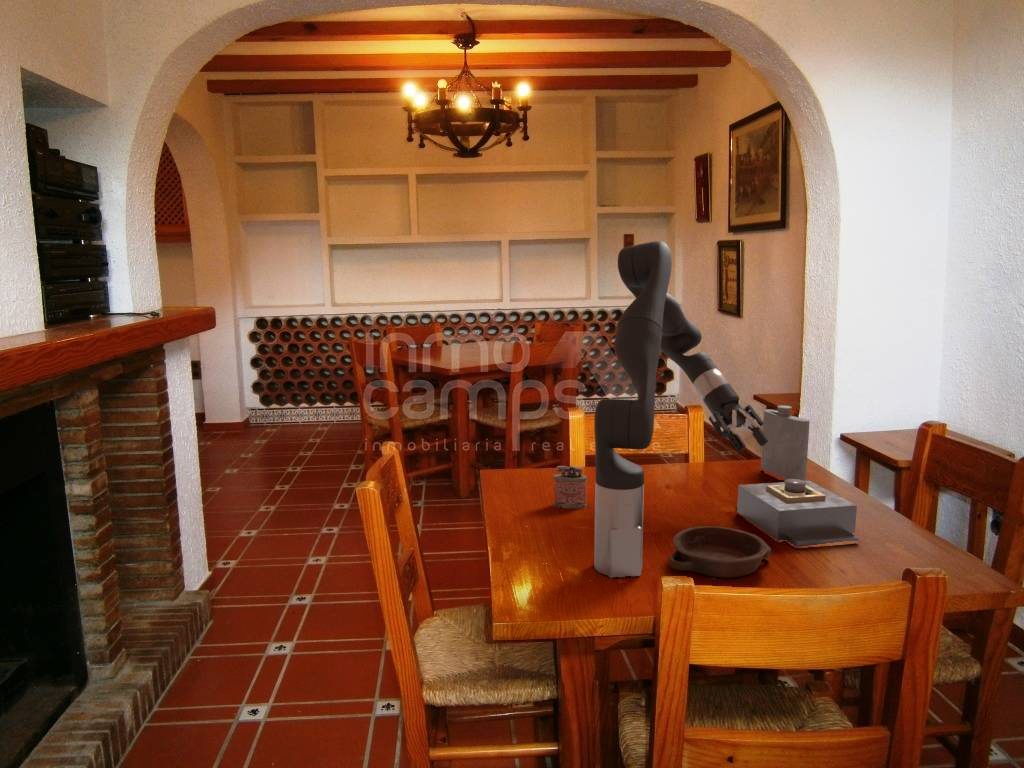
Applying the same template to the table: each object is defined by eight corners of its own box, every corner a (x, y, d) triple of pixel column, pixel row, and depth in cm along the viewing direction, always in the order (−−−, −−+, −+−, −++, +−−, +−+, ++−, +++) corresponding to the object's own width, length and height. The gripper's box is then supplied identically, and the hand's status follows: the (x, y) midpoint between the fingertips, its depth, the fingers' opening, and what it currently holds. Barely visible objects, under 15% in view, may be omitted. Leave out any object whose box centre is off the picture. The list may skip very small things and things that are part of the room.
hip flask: (808, 485, 194) (813, 411, 190) (795, 487, 192) (800, 412, 189) (767, 469, 208) (771, 400, 205) (755, 471, 207) (759, 401, 204)
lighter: (586, 503, 180) (587, 464, 179) (586, 508, 177) (587, 468, 175) (553, 503, 181) (554, 463, 179) (553, 507, 178) (553, 467, 176)
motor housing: (866, 543, 154) (869, 507, 153) (787, 549, 151) (789, 512, 150) (798, 503, 180) (800, 471, 178) (729, 508, 177) (730, 475, 175)
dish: (646, 556, 149) (647, 533, 148) (738, 542, 156) (739, 519, 155) (695, 593, 133) (696, 566, 132) (795, 575, 140) (796, 550, 139)
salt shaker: (807, 527, 164) (809, 484, 162) (789, 528, 163) (791, 485, 161) (796, 520, 168) (798, 478, 166) (778, 521, 167) (780, 479, 166)
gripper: (706, 385, 172) (745, 443, 165) (743, 379, 180) (782, 433, 173) (687, 404, 177) (724, 460, 170) (724, 397, 186) (761, 450, 178)
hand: (754, 446), depth 172 cm, fingers open, 8 cm apart
